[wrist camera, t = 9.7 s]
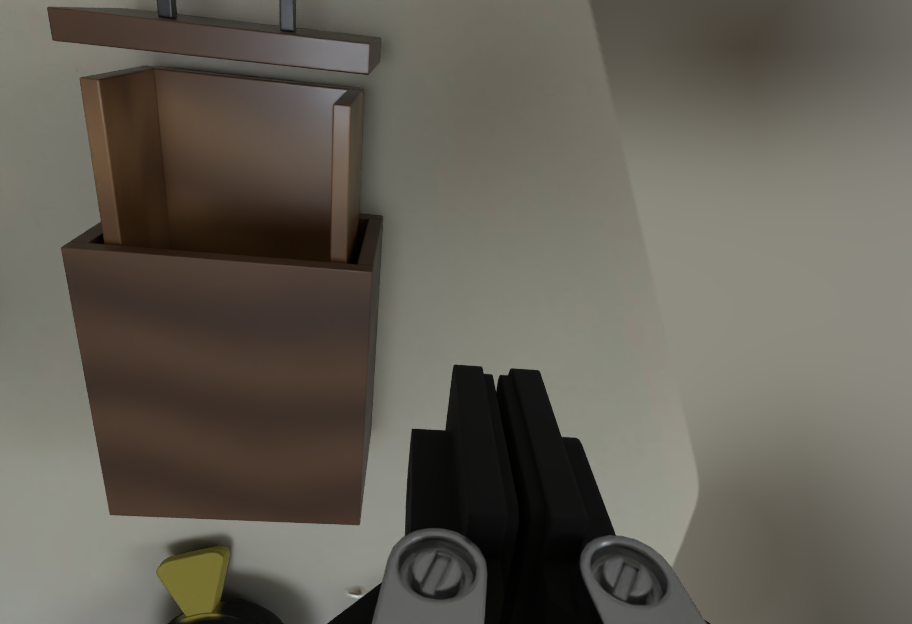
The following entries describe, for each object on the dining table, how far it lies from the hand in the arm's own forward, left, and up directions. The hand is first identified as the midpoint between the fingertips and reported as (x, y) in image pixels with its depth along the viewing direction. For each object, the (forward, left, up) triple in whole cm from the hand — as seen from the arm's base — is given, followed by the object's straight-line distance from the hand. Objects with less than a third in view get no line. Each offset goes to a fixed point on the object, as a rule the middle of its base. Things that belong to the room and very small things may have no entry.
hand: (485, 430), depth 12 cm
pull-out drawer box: (+6, -8, -24) cm, 26 cm away
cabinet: (+15, +2, -25) cm, 29 cm away
